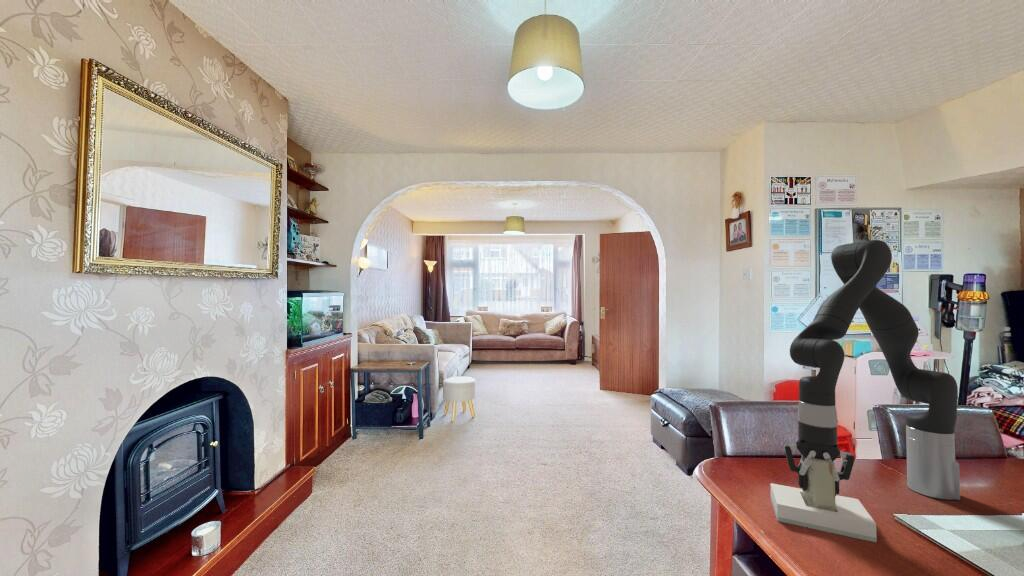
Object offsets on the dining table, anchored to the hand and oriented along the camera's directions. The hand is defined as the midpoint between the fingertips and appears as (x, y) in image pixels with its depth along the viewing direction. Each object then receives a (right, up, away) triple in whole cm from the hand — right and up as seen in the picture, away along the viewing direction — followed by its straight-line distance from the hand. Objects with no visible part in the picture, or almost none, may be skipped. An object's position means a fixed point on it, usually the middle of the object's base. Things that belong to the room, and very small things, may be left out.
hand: (818, 491), depth 95 cm
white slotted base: (0, -6, 0) cm, 6 cm away
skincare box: (0, -4, 0) cm, 4 cm away
